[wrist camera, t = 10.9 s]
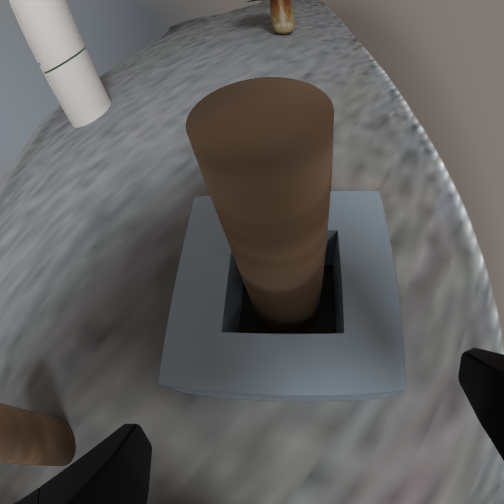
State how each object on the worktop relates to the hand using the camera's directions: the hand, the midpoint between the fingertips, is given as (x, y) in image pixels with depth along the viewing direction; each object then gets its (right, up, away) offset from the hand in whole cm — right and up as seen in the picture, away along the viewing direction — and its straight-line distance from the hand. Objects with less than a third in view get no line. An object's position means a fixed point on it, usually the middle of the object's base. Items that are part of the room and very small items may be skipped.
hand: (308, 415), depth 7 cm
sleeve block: (+1, +1, +13) cm, 13 cm away
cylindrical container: (-26, +26, +33) cm, 50 cm away
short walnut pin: (-16, -10, +9) cm, 21 cm away
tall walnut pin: (+1, +1, +13) cm, 13 cm away
